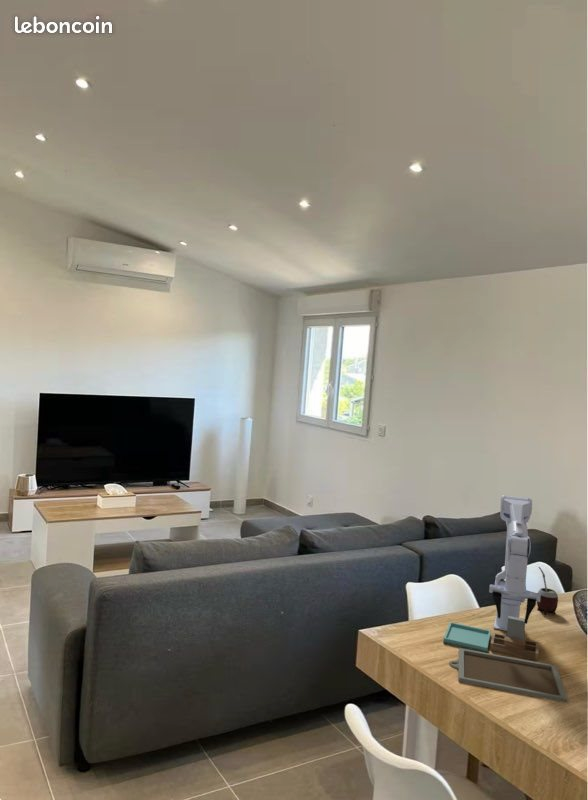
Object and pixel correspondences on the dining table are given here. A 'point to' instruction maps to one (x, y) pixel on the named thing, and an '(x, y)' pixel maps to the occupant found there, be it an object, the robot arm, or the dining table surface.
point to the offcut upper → (514, 643)
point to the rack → (529, 652)
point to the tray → (467, 637)
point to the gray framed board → (509, 674)
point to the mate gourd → (547, 599)
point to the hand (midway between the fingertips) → (512, 619)
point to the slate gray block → (516, 628)
